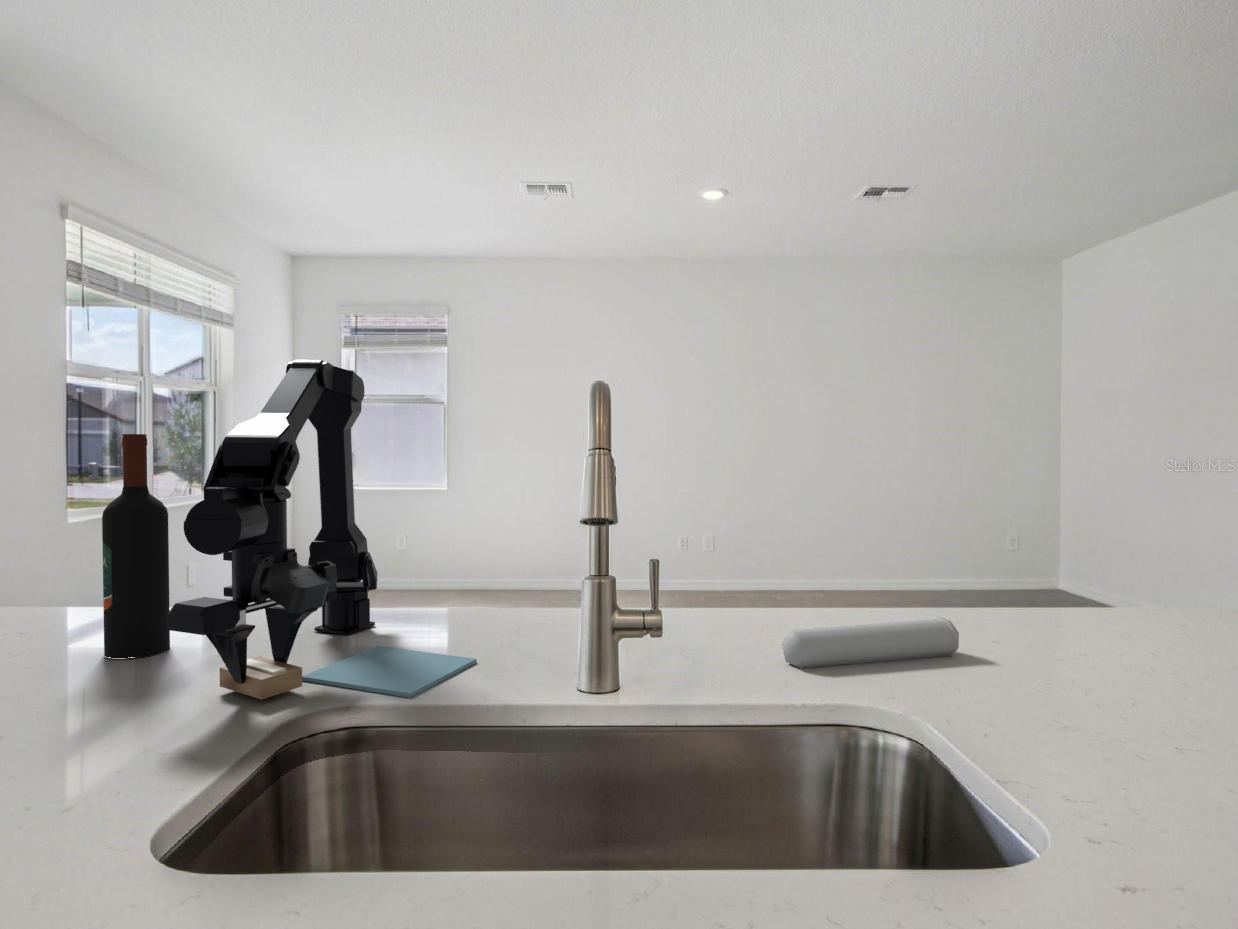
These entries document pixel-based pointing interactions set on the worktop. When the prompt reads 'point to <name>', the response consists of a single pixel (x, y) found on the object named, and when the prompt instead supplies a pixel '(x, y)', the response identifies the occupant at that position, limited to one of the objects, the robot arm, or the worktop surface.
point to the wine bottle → (135, 562)
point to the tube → (871, 642)
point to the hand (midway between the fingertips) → (260, 675)
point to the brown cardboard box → (264, 678)
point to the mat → (390, 671)
